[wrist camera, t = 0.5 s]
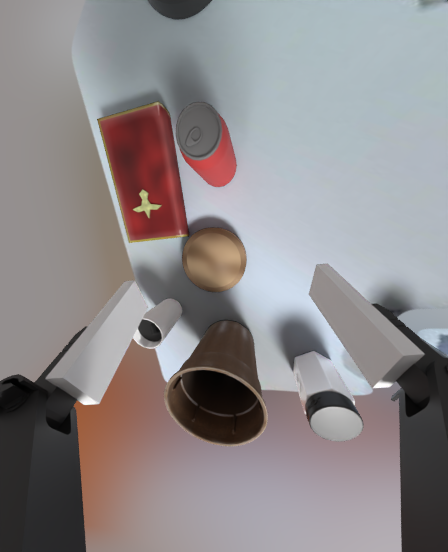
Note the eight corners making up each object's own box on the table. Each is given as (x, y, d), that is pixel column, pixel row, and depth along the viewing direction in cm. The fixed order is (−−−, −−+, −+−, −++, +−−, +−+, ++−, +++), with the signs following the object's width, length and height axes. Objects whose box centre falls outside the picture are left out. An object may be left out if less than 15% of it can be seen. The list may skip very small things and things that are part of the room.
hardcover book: (172, 116, 30) (159, 99, 26) (190, 235, 35) (182, 236, 31) (115, 131, 32) (95, 118, 28) (141, 241, 37) (128, 243, 33)
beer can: (194, 165, 31) (160, 128, 19) (222, 137, 29) (202, 78, 17) (215, 195, 31) (194, 177, 20) (244, 170, 30) (238, 134, 18)
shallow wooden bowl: (188, 224, 34) (183, 223, 32) (251, 231, 32) (250, 231, 30) (185, 282, 38) (181, 286, 35) (241, 292, 36) (241, 296, 34)
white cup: (175, 292, 39) (149, 313, 30) (189, 315, 40) (169, 342, 31) (154, 302, 41) (124, 325, 31) (168, 324, 42) (143, 352, 33)
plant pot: (210, 372, 44) (187, 448, 29) (186, 320, 41) (146, 376, 25) (270, 362, 40) (280, 446, 25) (249, 304, 37) (246, 359, 21)
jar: (294, 348, 38) (311, 400, 26) (333, 351, 36) (369, 408, 25) (291, 379, 40) (306, 438, 29) (327, 383, 39) (358, 447, 27)
